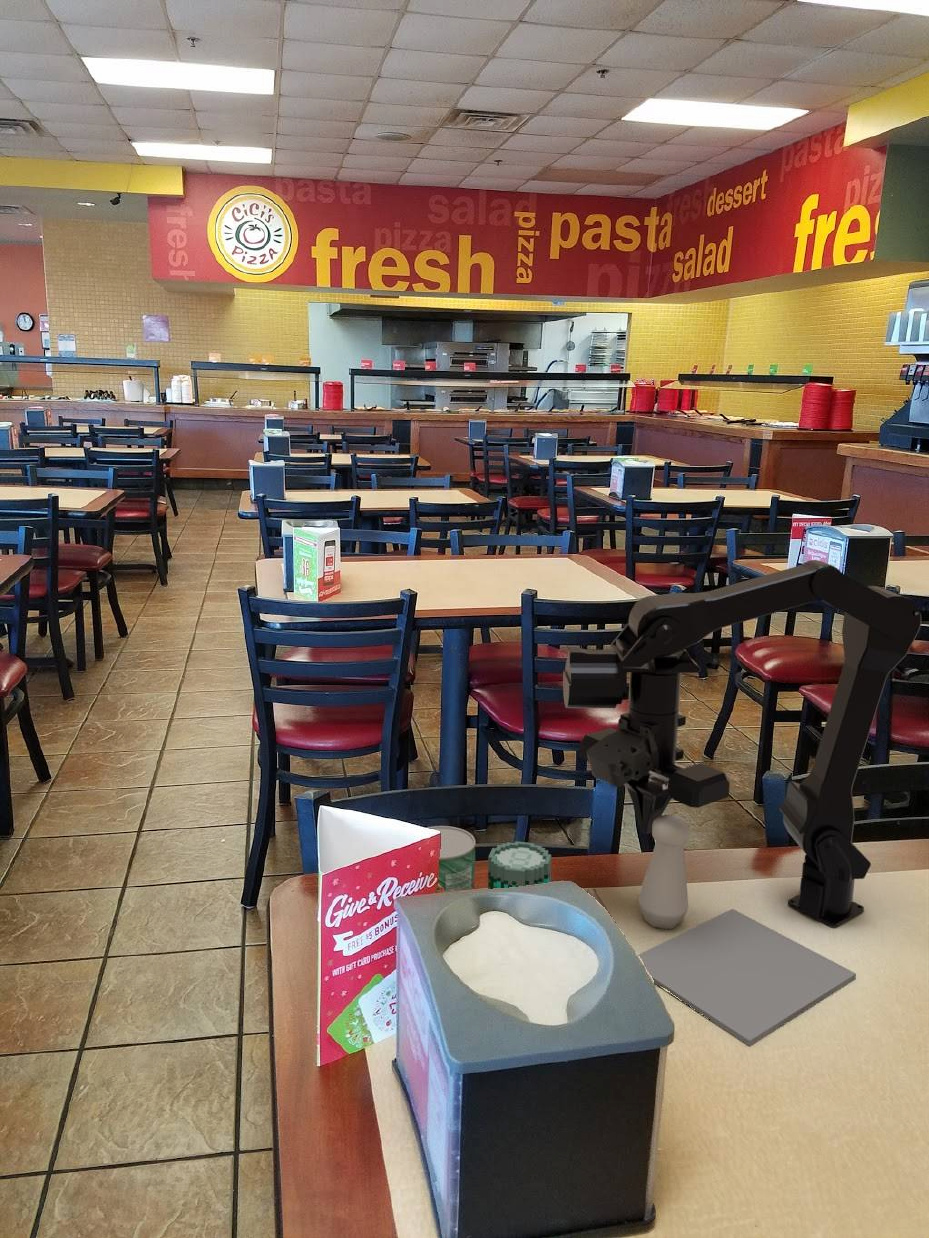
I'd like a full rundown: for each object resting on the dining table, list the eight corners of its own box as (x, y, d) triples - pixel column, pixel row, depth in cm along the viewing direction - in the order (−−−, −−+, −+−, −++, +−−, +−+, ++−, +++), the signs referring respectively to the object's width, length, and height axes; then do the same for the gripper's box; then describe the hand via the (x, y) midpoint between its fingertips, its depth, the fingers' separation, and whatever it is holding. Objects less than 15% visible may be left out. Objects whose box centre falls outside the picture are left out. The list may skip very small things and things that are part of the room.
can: (483, 1000, 93) (484, 866, 90) (495, 966, 99) (496, 839, 95) (542, 1009, 91) (545, 873, 88) (550, 974, 97) (554, 845, 94)
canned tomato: (486, 919, 108) (487, 833, 105) (457, 953, 101) (457, 863, 99) (427, 903, 111) (427, 820, 109) (395, 936, 104) (393, 848, 102)
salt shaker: (686, 937, 104) (698, 836, 101) (636, 929, 105) (646, 829, 102) (685, 908, 110) (696, 811, 106) (637, 901, 111) (647, 805, 107)
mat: (732, 913, 109) (732, 908, 109) (855, 978, 97) (856, 973, 96) (626, 965, 99) (626, 960, 99) (749, 1046, 86) (749, 1040, 86)
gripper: (547, 698, 107) (543, 821, 111) (667, 745, 92) (658, 885, 96) (614, 683, 113) (609, 799, 117) (737, 724, 99) (727, 856, 102)
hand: (646, 832), depth 108 cm, fingers closed
